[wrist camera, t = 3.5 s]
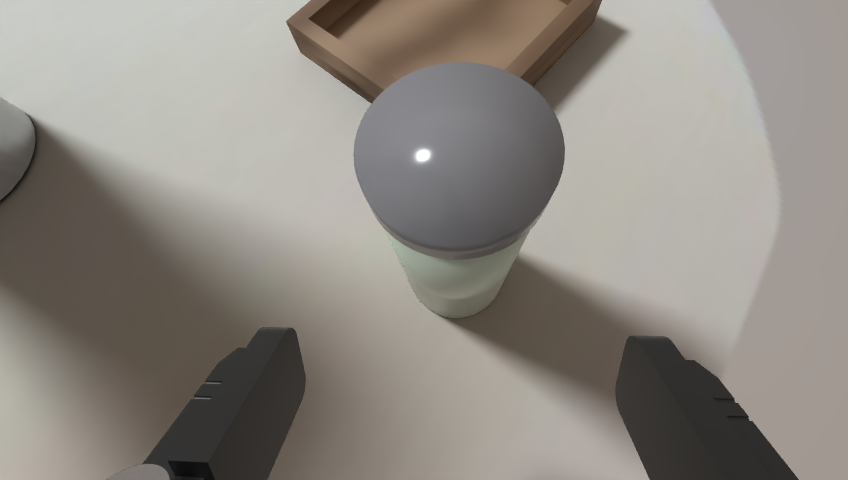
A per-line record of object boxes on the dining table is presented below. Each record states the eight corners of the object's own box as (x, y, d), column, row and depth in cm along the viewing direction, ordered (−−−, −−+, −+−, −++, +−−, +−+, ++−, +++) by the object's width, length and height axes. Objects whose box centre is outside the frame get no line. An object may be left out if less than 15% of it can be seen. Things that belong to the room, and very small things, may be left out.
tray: (300, 52, 27) (285, 21, 25) (434, -64, 30) (432, -102, 28) (458, 165, 23) (458, 141, 21) (594, 20, 26) (607, -15, 24)
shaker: (387, 276, 22) (311, 159, 10) (449, 208, 23) (445, 31, 11) (462, 341, 20) (472, 291, 9) (524, 265, 21) (607, 131, 10)
